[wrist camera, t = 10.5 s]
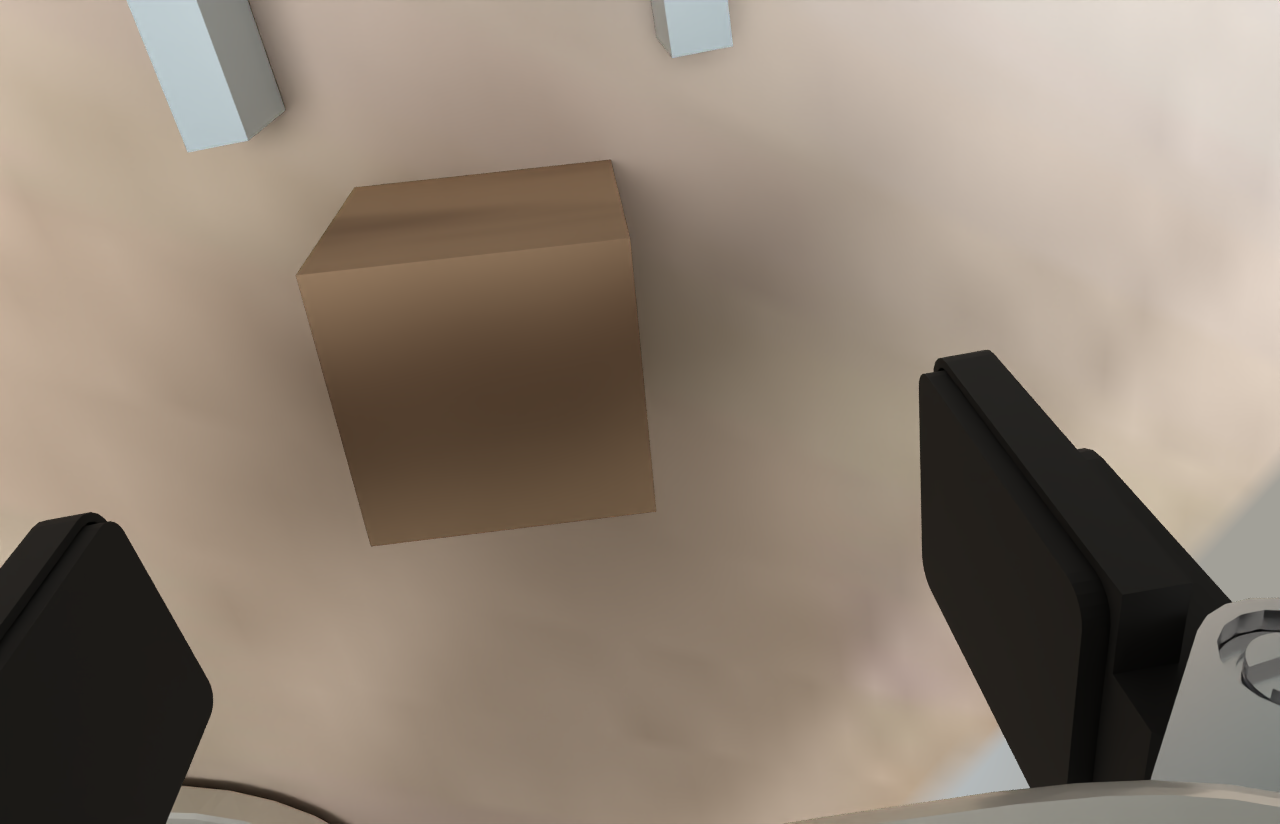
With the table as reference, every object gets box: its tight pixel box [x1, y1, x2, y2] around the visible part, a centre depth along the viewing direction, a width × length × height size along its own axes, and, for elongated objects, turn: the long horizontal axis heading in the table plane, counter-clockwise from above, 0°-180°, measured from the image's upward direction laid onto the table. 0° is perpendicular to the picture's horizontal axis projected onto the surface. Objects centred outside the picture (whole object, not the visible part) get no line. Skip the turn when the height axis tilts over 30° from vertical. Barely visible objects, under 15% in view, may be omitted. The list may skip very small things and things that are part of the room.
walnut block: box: [296, 160, 656, 546], centre depth 18 cm, size 5×5×5 cm
